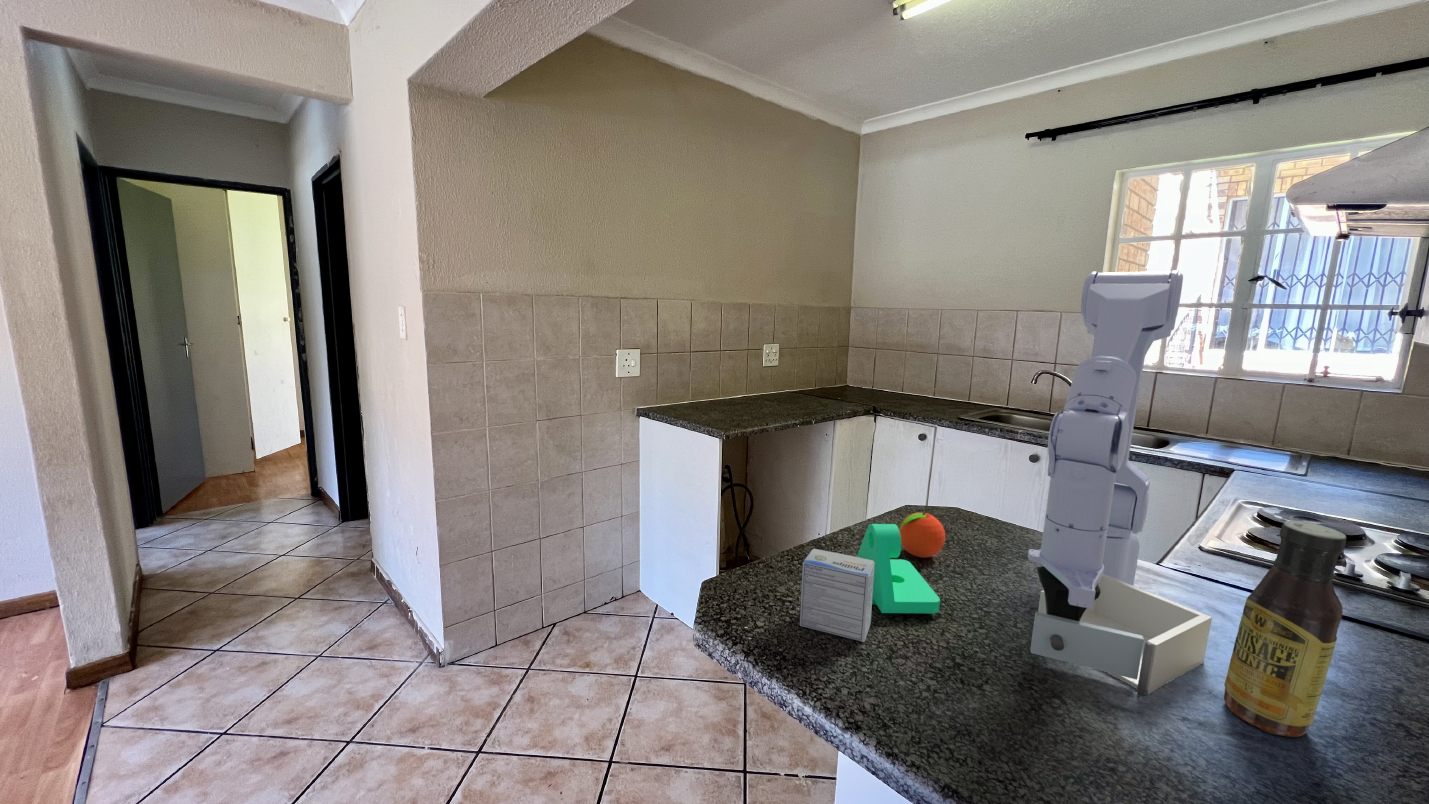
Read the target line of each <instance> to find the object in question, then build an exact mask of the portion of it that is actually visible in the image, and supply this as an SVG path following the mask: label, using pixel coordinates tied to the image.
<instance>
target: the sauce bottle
mask: <svg viewBox="0 0 1429 804" xmlns="http://www.w3.org/2000/svg"><path fill="white" fill-rule="evenodd" d="M1279 537H1280V543H1279V547H1278V551H1277V555H1276V558H1275V559H1274V563H1273V565H1271V567H1270V569H1269V570H1268V571H1267V573H1266V574H1265V575H1264V576H1263V578H1262V579H1261V580H1260V581H1259V583H1258V584H1257V585H1256V586H1255V588H1254V589H1253V590H1252V592H1251V593H1250V594H1249V595H1248V596H1247V598H1246V599H1245V602H1244V606H1243V610H1242V615H1241V619H1240V622H1239V624H1238V630H1237V633H1236V634H1237V635H1236V637H1235V640H1234V644H1233V645H1234V646H1233V650H1232V654H1231V656H1230V657H1231V658H1230V662H1229V665H1228V670H1227V674H1226V678H1225V681H1224V685H1223V686H1224V694H1223V701H1224V702H1225V705H1226V706H1227V708H1228V709H1229V710H1230V711H1231V712H1232V713H1233V714H1234V715H1236V717H1237V718H1239V719H1241V720H1243V721H1244V722H1246V723H1249V724H1250V725H1251V726H1254V727H1255V728H1258V729H1259V730H1261V731H1263V732H1266V733H1268V734H1271V735H1276V736H1282V737H1287V738H1288V737H1289V738H1296V737H1302V736H1304V735H1305V734H1306V733H1307V732H1308V730H1309V727H1310V726H1311V725H1312V724H1313V721H1314V720H1315V717H1316V716H1315V715H1316V712H1317V709H1318V706H1319V702H1320V698H1321V696H1322V692H1323V688H1324V686H1325V683H1326V679H1327V676H1328V672H1329V668H1330V666H1331V665H1330V664H1331V661H1332V658H1333V653H1334V651H1335V647H1336V644H1337V641H1338V637H1337V635H1338V634H1337V633H1338V632H1339V631H1338V630H1339V629H1340V624H1341V621H1342V619H1343V605H1342V603H1341V600H1340V598H1339V596H1338V594H1337V593H1336V591H1335V588H1334V584H1333V581H1334V579H1335V576H1336V575H1335V574H1334V573H1335V570H1336V567H1337V563H1338V559H1339V556H1340V554H1341V553H1342V552H1343V551H1344V550H1345V547H1346V544H1347V543H1346V542H1347V536H1346V535H1345V534H1344V533H1342V532H1341V531H1339V530H1337V529H1334V528H1331V527H1327V526H1326V525H1321V524H1318V523H1313V522H1307V521H1302V520H1287V521H1284V522H1283V523H1282V525H1281V529H1280V531H1279Z"/></svg>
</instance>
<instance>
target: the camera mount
mask: <svg viewBox="0 0 1429 804" xmlns="http://www.w3.org/2000/svg"><path fill="white" fill-rule="evenodd" d="M899 528H900V527H899V526H898V525H897V524H895V523H887V524H886V523H868V525H867V528H866V531H865V534H864V536H863V539H862V542H861V544H860V547H859V550H858V553H857V556H856V557H859V558H863V559H868V560H873V561H874V562H875V566H874V579H873V594H872V605H876V606H877V607H878V609H879V610H880V613H882V614H937V613H939V611H940V603H941V599H940V597H939V596H938V594H937V593H936V591H934V590H933V588H932V587H931V586H930V585H929V583H928V582H927V581H926V580H925V579H924V578H923V576H922V575H921V573H920V572H918V570H917V569H916V568H915V566H914V565H913V564H912V563H911V561H909V560H906V559H897V558H899V556H900V555H901V552H902V544H901V535H900V531H899ZM891 558H892V559H891ZM894 558H895V559H894Z"/></svg>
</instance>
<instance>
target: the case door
mask: <svg viewBox="0 0 1429 804" xmlns="http://www.w3.org/2000/svg"><path fill="white" fill-rule="evenodd" d="M1143 642H1144V639H1143V636H1142V635H1138V634H1133V633H1129V632H1124V631H1120V630H1115V629H1111V628H1106V627H1102V626H1097V625H1093V624H1088V623H1084V622H1080V621H1075V620H1071V619H1066V618H1062V617H1057V616H1053V615H1048V614H1044V613H1039V612H1038V611H1035V613H1034V620H1033V628H1032V635H1031V642H1030V654H1035V655H1037V656H1042V657H1044V658H1050V659H1054V660H1058V661H1061V662H1065V663H1069V664H1074V665H1077V666H1081V667H1085V668H1088V669H1089V668H1090V669H1092V670H1093V669H1094V670H1097V671H1101V672H1105V673H1106V672H1108V673H1112V674H1116V675H1120V676H1124V677H1128V678H1132V679H1136V680H1137V677H1138V671H1139V666H1140V660H1141V654H1142V648H1143ZM1108 673H1107V674H1108Z"/></svg>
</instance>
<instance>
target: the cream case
mask: <svg viewBox="0 0 1429 804" xmlns="http://www.w3.org/2000/svg"><path fill="white" fill-rule="evenodd" d="M1098 586H1099V588H1100V590H1101V592H1100V595H1099V597H1098V598H1097V599H1096V600H1095V601H1094V605H1093V609H1089V608H1087V609H1086V610H1085V612H1084V613H1083V615H1082V617H1081V619H1080V622H1084V623H1088V624H1093V625H1097V626H1102V627H1106V628H1111V629H1115V630H1120V631H1124V632H1129V633H1133V634H1138V635H1142V636H1143V639H1144V642H1143V648H1142V654H1141V660H1140V666H1139V671H1138V677H1137V680H1136V679H1132V678H1128V677H1124V676H1120V675H1116V674H1112V673H1108V672H1107V673H1106V674H1108V675H1110V676H1112V677H1114V678H1115V679H1117V678H1118V679H1117V680H1119V679H1120V681H1121V680H1122V681H1121V682H1123V681H1124V682H1123V683H1125V682H1126V683H1125V684H1127V683H1128V684H1127V685H1129V684H1130V685H1131V687H1132V686H1133V687H1132V688H1134V689H1136V693H1137V694H1138V695H1139V696H1145V695H1147V696H1148V695H1150V694H1152V693H1153V692H1155V691H1157V690H1159V689H1160V688H1162V687H1164V686H1165V685H1164V684H1166V683H1167V682H1169V681H1171V680H1173V679H1174V680H1176V679H1178V678H1179V677H1178V676H1180V675H1181V676H1183V675H1185V674H1186V672H1187V671H1188V672H1190V671H1192V670H1194V669H1195V668H1197V667H1199V666H1201V665H1202V664H1204V663H1205V658H1206V657H1205V656H1206V651H1207V647H1208V641H1209V634H1210V631H1211V627H1212V626H1211V625H1212V619H1213V617H1212V616H1210V615H1208V614H1205V613H1203V612H1200V611H1198V610H1195V609H1193V608H1190V607H1188V606H1185V605H1183V604H1181V603H1177V602H1176V601H1172V600H1170V599H1167V598H1164V597H1162V596H1159V595H1158V594H1155V593H1152V592H1150V591H1148V590H1145V589H1143V588H1141V589H1140V588H1138V587H1135V586H1133V585H1130V584H1128V583H1125V582H1123V581H1120V580H1118V579H1115V578H1113V577H1110V576H1108V575H1105V574H1103V575H1102V577H1101V579H1100V580H1099V582H1098ZM1039 596H1040V597H1039V603H1038V608H1037V609H1038V610H1037V612H1039V613H1044V614H1047V613H1046V600H1045V593H1044V589H1043V590H1040V594H1039ZM1200 664H1201V665H1200ZM1196 666H1197V667H1196ZM1193 668H1194V669H1193ZM1191 669H1192V670H1191ZM1189 670H1190V671H1189ZM1188 672H1187V673H1188ZM1184 673H1185V674H1184ZM1181 676H1180V677H1181ZM1177 677H1178V678H1177ZM1175 678H1176V679H1175ZM1174 680H1173V681H1174ZM1171 682H1172V681H1171ZM1169 683H1170V682H1169ZM1167 684H1168V683H1167ZM1167 684H1166V685H1167ZM1130 685H1129V686H1130ZM1163 685H1164V686H1163ZM1161 686H1162V687H1161ZM1159 687H1160V688H1159ZM1158 688H1159V689H1158ZM1156 689H1157V690H1156ZM1151 692H1152V693H1151Z"/></svg>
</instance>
